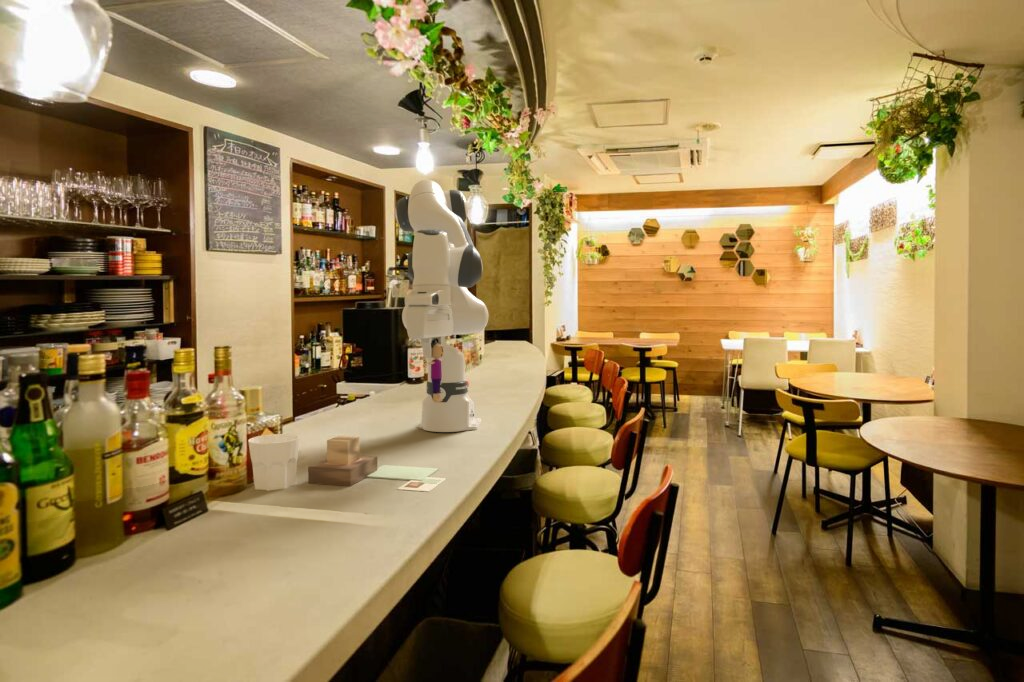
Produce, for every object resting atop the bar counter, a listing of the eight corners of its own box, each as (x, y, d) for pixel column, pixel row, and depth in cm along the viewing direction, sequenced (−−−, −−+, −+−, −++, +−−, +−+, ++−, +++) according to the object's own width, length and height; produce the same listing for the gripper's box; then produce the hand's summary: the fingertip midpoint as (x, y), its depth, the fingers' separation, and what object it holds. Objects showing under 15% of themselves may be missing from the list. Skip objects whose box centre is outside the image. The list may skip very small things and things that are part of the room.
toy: (437, 405, 139) (436, 339, 138) (414, 404, 140) (413, 339, 139) (450, 398, 149) (449, 337, 149) (429, 398, 150) (428, 337, 150)
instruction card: (416, 476, 134) (416, 475, 134) (446, 478, 133) (446, 477, 133) (397, 489, 125) (397, 488, 125) (429, 491, 123) (429, 490, 123)
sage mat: (383, 466, 144) (383, 465, 144) (438, 469, 141) (438, 468, 141) (362, 477, 134) (362, 475, 134) (421, 481, 131) (421, 479, 131)
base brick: (338, 469, 141) (337, 454, 141) (377, 471, 139) (377, 456, 139) (308, 482, 130) (308, 466, 130) (350, 486, 127) (350, 469, 127)
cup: (310, 481, 132) (309, 435, 131) (278, 493, 122) (277, 444, 122) (272, 477, 135) (271, 432, 134) (238, 489, 125) (237, 441, 125)
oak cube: (339, 457, 137) (339, 435, 137) (359, 459, 136) (359, 436, 136) (327, 463, 133) (326, 440, 132) (348, 464, 131) (347, 441, 131)
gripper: (435, 299, 154) (435, 353, 155) (401, 297, 135) (401, 360, 135) (459, 298, 153) (459, 354, 153) (427, 297, 133) (428, 360, 134)
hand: (432, 356), depth 144 cm, fingers closed on toy, 3 cm apart
